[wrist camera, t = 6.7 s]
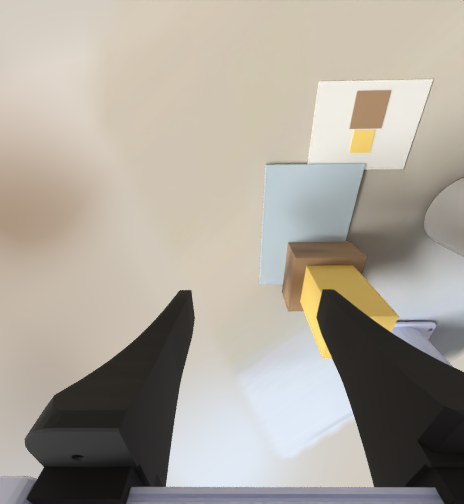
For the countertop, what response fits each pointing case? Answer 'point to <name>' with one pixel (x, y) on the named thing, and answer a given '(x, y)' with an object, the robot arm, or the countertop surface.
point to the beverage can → (447, 218)
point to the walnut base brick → (314, 264)
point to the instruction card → (366, 121)
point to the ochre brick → (349, 287)
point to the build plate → (304, 209)
